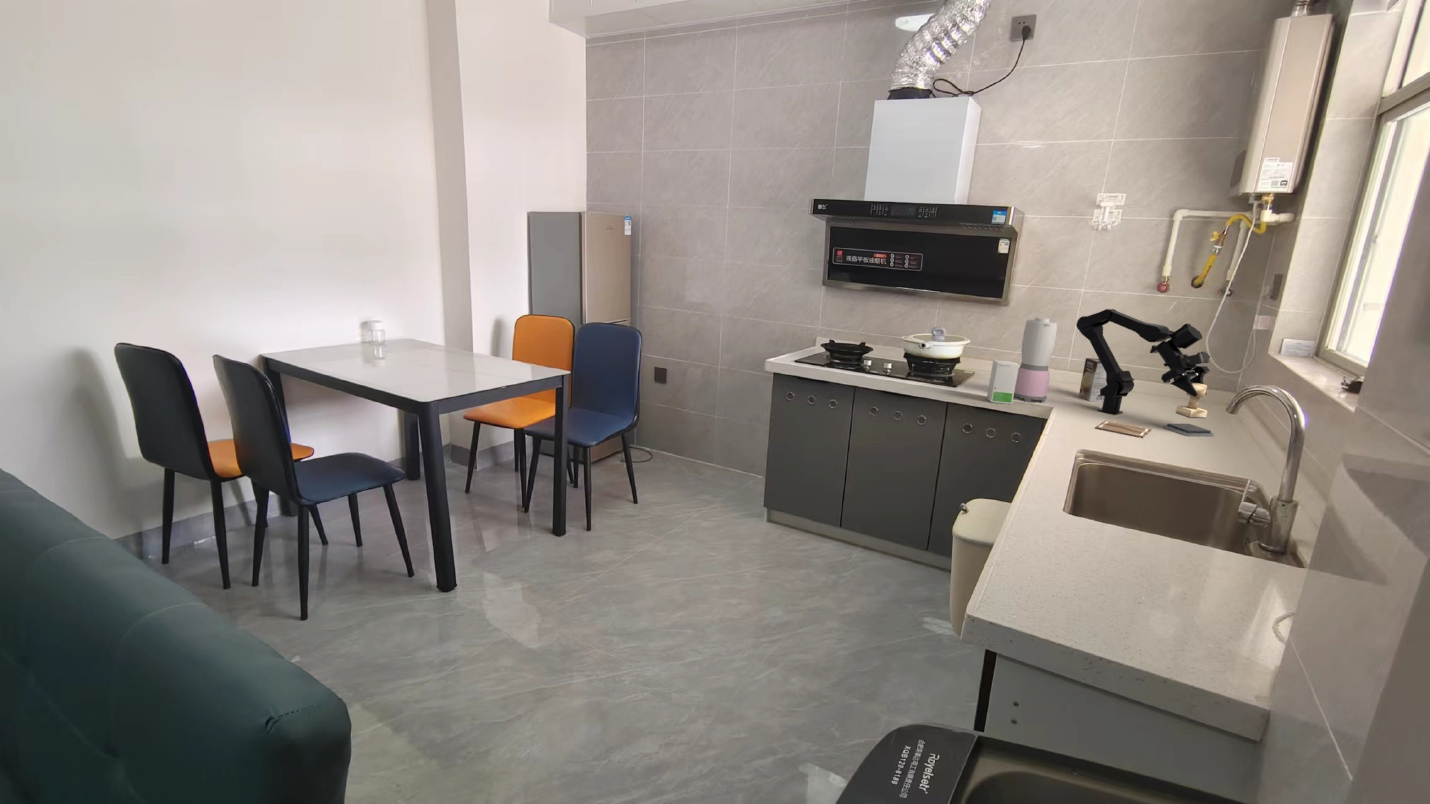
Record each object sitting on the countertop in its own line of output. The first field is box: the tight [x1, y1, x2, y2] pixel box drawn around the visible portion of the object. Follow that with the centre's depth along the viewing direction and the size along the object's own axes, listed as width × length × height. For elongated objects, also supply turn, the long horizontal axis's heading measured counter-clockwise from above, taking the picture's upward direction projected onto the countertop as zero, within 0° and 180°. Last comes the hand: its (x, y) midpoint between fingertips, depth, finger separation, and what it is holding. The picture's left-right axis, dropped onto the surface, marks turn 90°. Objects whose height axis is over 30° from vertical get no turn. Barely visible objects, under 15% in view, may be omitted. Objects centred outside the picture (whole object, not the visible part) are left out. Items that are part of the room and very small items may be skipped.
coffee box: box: [1078, 357, 1107, 403], centre depth 269 cm, size 9×6×16 cm
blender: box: [1013, 316, 1058, 403], centre depth 262 cm, size 16×12×32 cm
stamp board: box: [1094, 420, 1152, 439], centre depth 225 cm, size 14×14×1 cm
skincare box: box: [986, 359, 1020, 405], centre depth 255 cm, size 8×7×16 cm
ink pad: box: [1163, 422, 1215, 437], centre depth 227 cm, size 10×10×2 cm
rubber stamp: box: [1175, 383, 1208, 419], centre depth 224 cm, size 6×6×11 cm
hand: (1200, 395), depth 222 cm, fingers closed on rubber stamp, 5 cm apart
